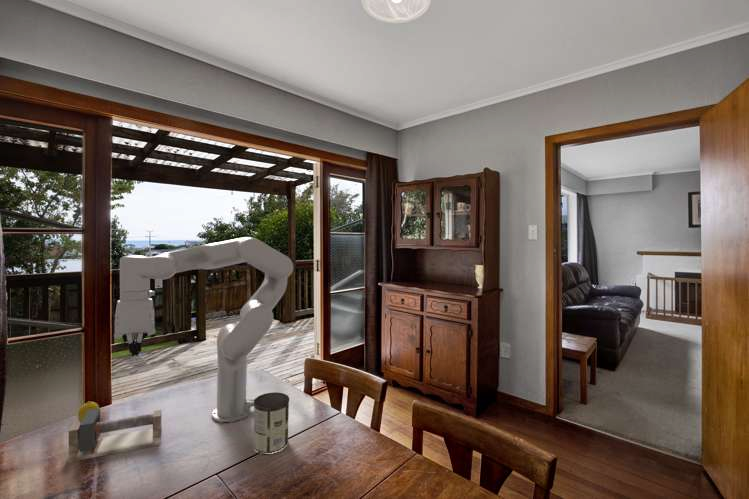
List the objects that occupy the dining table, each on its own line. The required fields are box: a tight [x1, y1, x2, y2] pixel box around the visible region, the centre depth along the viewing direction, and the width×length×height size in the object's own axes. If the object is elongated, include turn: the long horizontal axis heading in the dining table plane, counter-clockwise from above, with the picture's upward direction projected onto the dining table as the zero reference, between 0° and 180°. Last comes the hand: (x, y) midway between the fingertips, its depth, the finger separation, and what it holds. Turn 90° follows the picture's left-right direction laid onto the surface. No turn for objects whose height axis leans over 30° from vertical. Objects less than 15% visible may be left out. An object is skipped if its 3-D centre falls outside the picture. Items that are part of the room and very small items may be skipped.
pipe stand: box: [65, 409, 163, 463], centre depth 108 cm, size 22×9×8 cm, turn 116°
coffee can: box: [253, 391, 290, 453], centre depth 111 cm, size 10×10×14 cm
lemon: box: [77, 401, 100, 423], centre depth 118 cm, size 6×6×8 cm
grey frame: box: [80, 408, 101, 452], centre depth 105 cm, size 3×9×8 cm, turn 26°
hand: (135, 354), depth 113 cm, fingers closed
